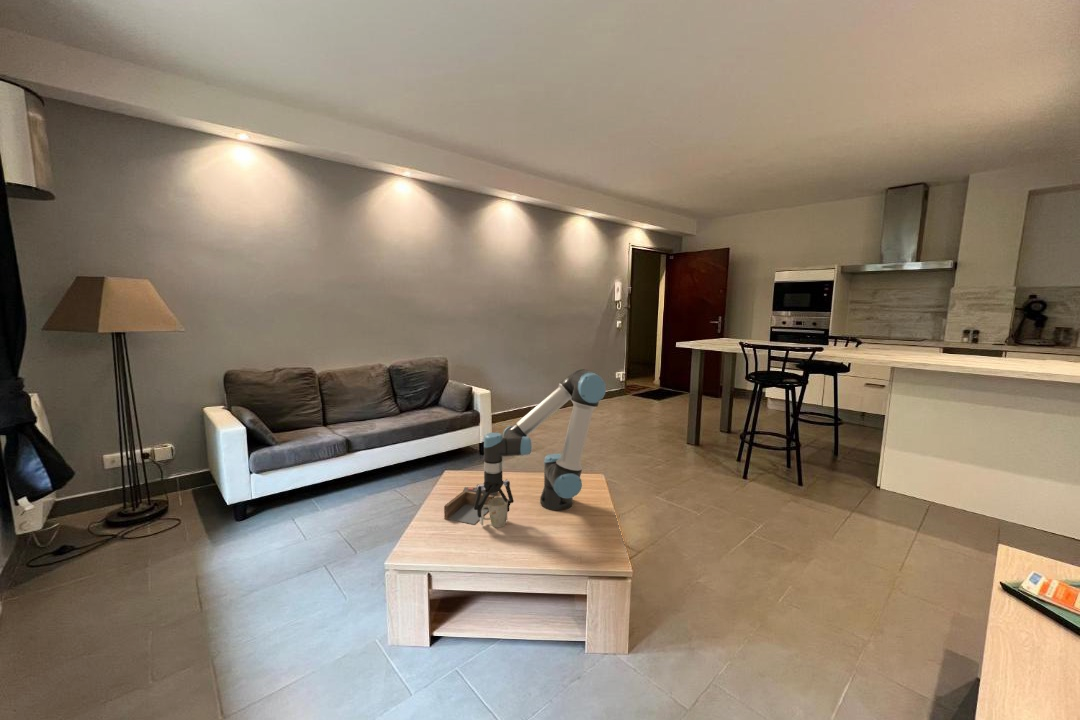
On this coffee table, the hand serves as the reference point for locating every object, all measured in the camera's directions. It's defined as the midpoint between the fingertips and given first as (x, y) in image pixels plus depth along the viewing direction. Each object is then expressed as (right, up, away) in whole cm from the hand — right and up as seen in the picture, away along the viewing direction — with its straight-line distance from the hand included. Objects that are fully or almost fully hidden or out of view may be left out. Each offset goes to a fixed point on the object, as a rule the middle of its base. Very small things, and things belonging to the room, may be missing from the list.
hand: (493, 521), depth 178 cm
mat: (-11, 0, +8) cm, 14 cm away
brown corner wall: (-11, 0, +9) cm, 14 cm away
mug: (0, -1, 0) cm, 1 cm away
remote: (-10, +3, +29) cm, 31 cm away
